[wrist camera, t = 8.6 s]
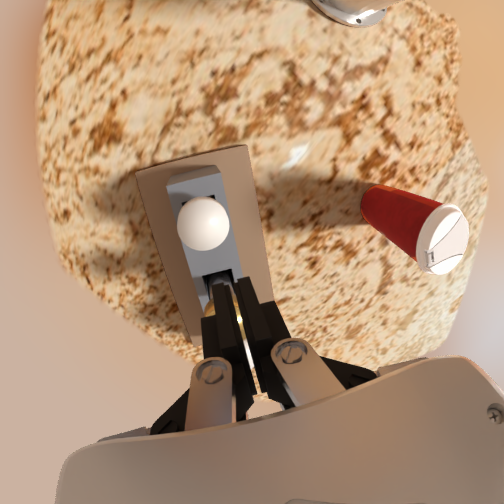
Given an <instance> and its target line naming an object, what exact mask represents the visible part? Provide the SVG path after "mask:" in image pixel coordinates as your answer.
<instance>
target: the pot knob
mask: <svg viewBox="0 0 504 504" xmlns="http://www.w3.org/2000/svg"><path fill="white" fill-rule="evenodd" d="M207 276H208V284H209V291H210V298H211V300H210V301H209V302H208V303H207V304H206V306H205V309H204V317H207V316H212V315H215V309H214V302H213V294H212V287H211V285H214V284H218V283H222V282H224V285H228V284H229V286H230V290H231V294H232V298H233V302H234V306H235V310H236V314H237V318H238V322H239V326H240V330H241V334H242V338H243V340H245V339H246V335H245V331H244V327H243V323H242V319H241V315H240V311H239V307H238V302H237V298H236V295H234V291H233V288H232V284H231V280H230V277H229V273H228V270H223V271H219V272H215V273H211V274H207Z"/></svg>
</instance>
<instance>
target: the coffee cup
mask: <svg viewBox="0 0 504 504" xmlns="http://www.w3.org/2000/svg"><path fill="white" fill-rule="evenodd" d="M361 213H362V216H363V218H364V219H365V220H366V221H367V222H368V223H369V224H370V225H372V226H373V227H374V228H375V229H377V230H378V231H379V232H380V233H382V234H383V235H384V236H385V237H387V238H388V239H389V240H390V241H392V242H393V243H394V244H396V245H397V246H398V247H399V248H400V249H402V250H403V251H404V252H405V253H407V254H408V255H409V256H410V257H411V258H413V259H414V260H415V261H416V262H417V263H418V265H419V267H420V269H421V270H422V271H424V272H426V273H429V274H436V275H442V274H445V273H447V272H449V271H451V270H452V269H453V268H454V267H455V266H456V265H457V264H458V262H459V261H460V260H461V258H462V256H463V254H464V252H465V249H466V246H467V243H468V238H469V226H468V222H467V219H466V218H465V216H464V215H463V214H462V212H461V211H460V209H459V208H458V207H457V206H456V205H454V204H450V203H447V204H442V203H439V202H437V201H434V200H431V199H428V198H425V197H422V196H419V195H416V194H412V193H409V192H406V191H403V190H399V189H396V188H392V187H389V186H384V185H375V186H372V187H371V188H369V189H368V190H367V191H366V193H365V194H364V196H363V198H362V201H361Z"/></svg>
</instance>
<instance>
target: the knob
mask: <svg viewBox="0 0 504 504" xmlns="http://www.w3.org/2000/svg"><path fill="white" fill-rule="evenodd" d="M177 231H178V234H179V237H180V239H181V240H182V241H183V243H184V244H186V245H187V246H188V247H190V248H192V249H195V250H199V251H206V250H211V249H213V248H216V247H217V246H219V245H220V244H221V243H222V242H223V241H224V240H225V238H226V237H227V234H228V232H229V219H228V216H227V214H226V211H225V209H224V207H223V206H222V205H221V204H220V203H219V202H218V201H217V200H215V199H213V198H210V196H206V197H204V196H203V197H196V198H193V199H191V200H189V201H188V202H187V203H185V204H184V206H183V207H182V208H181V210H180V212H179V215H178V222H177Z"/></svg>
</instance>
